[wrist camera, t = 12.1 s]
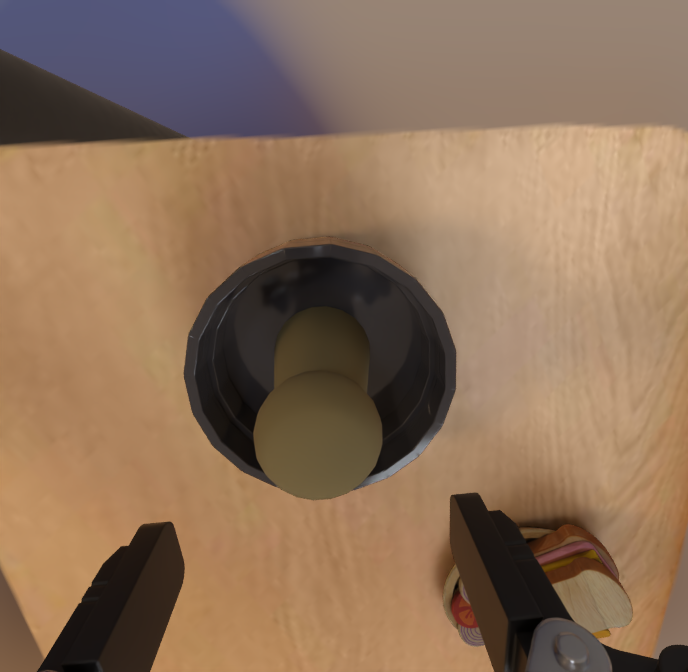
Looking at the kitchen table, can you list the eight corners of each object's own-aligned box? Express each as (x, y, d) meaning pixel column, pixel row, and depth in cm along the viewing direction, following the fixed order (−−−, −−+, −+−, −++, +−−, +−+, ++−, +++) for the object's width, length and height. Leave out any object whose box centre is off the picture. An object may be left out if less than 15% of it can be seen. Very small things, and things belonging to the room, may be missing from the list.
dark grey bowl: (233, 452, 28) (213, 503, 23) (191, 247, 23) (155, 258, 18) (433, 434, 28) (454, 482, 23) (431, 226, 23) (458, 232, 18)
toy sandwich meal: (413, 558, 31) (428, 618, 27) (574, 488, 30) (618, 538, 25) (473, 650, 35) (495, 715, 31) (619, 592, 33) (664, 652, 29)
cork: (317, 285, 23) (307, 352, 13) (389, 348, 25) (433, 452, 14) (254, 357, 25) (200, 469, 14) (327, 412, 26) (326, 550, 16)
